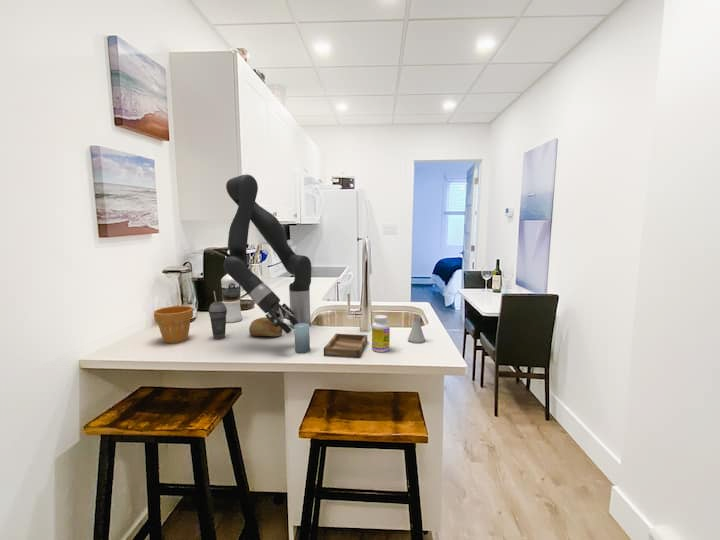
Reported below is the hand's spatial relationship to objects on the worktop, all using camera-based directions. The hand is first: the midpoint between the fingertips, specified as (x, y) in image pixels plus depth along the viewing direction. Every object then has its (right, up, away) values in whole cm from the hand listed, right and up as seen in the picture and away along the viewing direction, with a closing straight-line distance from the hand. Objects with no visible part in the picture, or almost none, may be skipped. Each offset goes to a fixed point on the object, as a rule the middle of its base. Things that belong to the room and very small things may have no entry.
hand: (294, 328), depth 136 cm
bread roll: (-16, -6, +19) cm, 26 cm away
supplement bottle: (+33, -8, +1) cm, 34 cm away
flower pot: (-51, -7, +14) cm, 54 cm away
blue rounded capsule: (+3, -8, +1) cm, 9 cm away
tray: (+20, -8, +3) cm, 21 cm away
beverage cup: (-35, -7, +17) cm, 39 cm away
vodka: (-39, -3, +44) cm, 59 cm away
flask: (+48, -7, +11) cm, 50 cm away
